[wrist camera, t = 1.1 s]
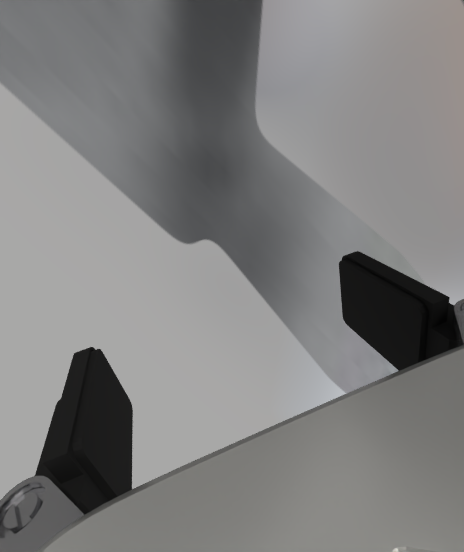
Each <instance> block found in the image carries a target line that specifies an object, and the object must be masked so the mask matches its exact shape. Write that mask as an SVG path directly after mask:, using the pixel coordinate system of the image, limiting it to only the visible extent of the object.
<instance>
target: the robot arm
mask: <svg viewBox="0 0 464 552" xmlns="http://www.w3.org/2000/svg"><path fill="white" fill-rule="evenodd" d="M339 272H340V285H341V299H342V312H343V319H344V321H345V323H346V324H347V325H348V326H349V327H350V328H351V329H352V330H354V331H355V332H356V333H357V334H358V335H359V336H360V337H361V338H363V339H364V340H365V341H366V342H367V343H368V344H369V345H371V346H372V347H373V348H374V349H375V350H376V351H377V352H378V353H380V354H381V355H382V356H383V357H384V358H385V359H386V360H388V361H389V362H390V363H391V364H392V365H393V366H394V367H396V368H397V369H398V370H399V371H398V372H396V373H393V374H391V375H389V376H386V377H384V378H382V379H379V380H377V381H375V382H373V383H370V384H368V385H366V386H363V387H361V388H359V389H356V390H354V391H352V392H349V393H347V394H345V395H343V396H340V397H338V398H336V399H333V400H331V401H329V402H326V403H324V404H322V405H320V406H317V407H315V408H313V409H311V410H308V411H306V412H304V413H301V414H299V415H297V416H295V417H293V418H290V419H288V420H285V421H283V422H281V423H278V424H276V425H274V426H272V427H269V428H267V429H265V430H263V431H261V432H258V433H256V434H254V435H252V436H249V437H247V438H245V439H242V440H240V441H238V442H236V443H234V444H231V445H229V446H227V447H224V448H222V449H220V450H218V451H215V452H213V453H211V454H209V455H206V456H204V457H202V458H200V459H197V460H195V461H193V462H191V463H188V464H186V465H184V466H182V467H180V468H177V469H175V470H173V471H171V472H169V473H167V474H164V475H162V476H160V477H158V478H156V479H154V480H152V481H149V482H147V483H145V484H143V485H141V486H139V487H136V488H134V489H132V417H133V416H132V414H133V413H132V412H133V410H132V405H131V402H130V400H129V398H128V396H127V394H126V393H125V391H124V389H123V387H122V386H121V384H120V382H119V380H118V378H117V377H116V375H115V373H114V372H113V370H112V368H111V366H110V365H109V363H108V361H107V359H106V358H105V356H104V354H103V352H102V351H101V350H100V349H97V350H95V349H94V348H93V347H90V348H87V349H85V350H82V351H79V352H76V353H74V355H73V359H72V362H71V366H70V369H69V373H68V376H67V380H66V383H65V387H64V390H63V394H62V398H61V399H60V400H59V401H58V402H57V405H56V407H55V411H54V414H53V417H52V421H51V424H50V427H49V431H48V434H47V438H46V441H45V444H44V448H43V451H42V454H41V458H40V461H39V464H38V467H37V471H36V475H35V476H34V477H31V478H28V479H26V480H24V481H23V482H21V483H19V484H18V485H16V486H15V487H14V488H13V489H11V490H10V491H9V492H8V493H7V494H6V495H5V496H4V497H3V498H2V499H1V500H0V552H464V299H462V300H460V301H458V302H457V303H456V304H455V305H452V304H450V303H449V297H448V296H446V295H444V294H442V293H440V292H438V291H436V290H434V289H432V288H430V287H428V286H426V285H424V284H422V283H420V282H418V281H416V280H414V279H412V278H410V277H408V276H406V275H404V274H402V273H400V272H398V271H396V270H394V269H393V268H391V267H389V266H387V265H385V264H383V263H381V262H379V261H377V260H375V259H373V258H371V257H369V256H367V255H365V254H363V253H361V252H358V251H357V252H353V253H351V254H348V255H345V256H343V257H342V261H340V262H339Z"/></svg>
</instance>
